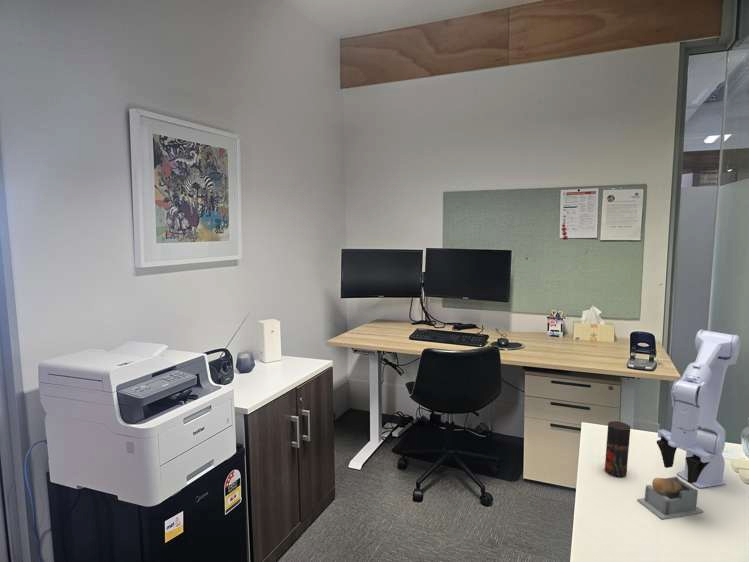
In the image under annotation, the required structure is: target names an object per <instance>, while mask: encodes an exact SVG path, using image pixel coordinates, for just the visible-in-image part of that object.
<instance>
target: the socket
mask: <svg viewBox="0 0 749 562" xmlns="http://www.w3.org/2000/svg"><path fill="white" fill-rule="evenodd" d="M664 478H665V477H664ZM665 479H676V480H678V481H679V482H680V483H681V486H682V491H680V493H679V494H671V493H658V492H656V491H655V490H654V488H653V486H652V485H651V484H646V485H645V492H644V497H643V498H637V500H636V501H637V502H638V503H639V504H641V505H642V506H644V507H645V508H646V509H647V510H648V511H650V512H651V513H652V514H654V516H656V517H658V519H660V520H669V519H675V518H678V517H680V518H681V517H685V516H691V515H698V514H703V513H704V510H703V509H702V508H700V507H698V506H697V504H698V503H697V501H698V494H699V490H698V489H696V488H694V487H692V486H690V485H689V484H688V483H686V482H684V481H683V480H681V479H680V477H677V476H672V477H666V478H665Z"/></svg>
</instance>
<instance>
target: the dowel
mask: <svg viewBox="0 0 749 562" xmlns="http://www.w3.org/2000/svg"><path fill="white" fill-rule="evenodd" d="M651 484H652V485H651V486H653V488H654V490H655V491H656V492H658V493H671V494H679V493H680V491H682V486H681V483H680V482H679V481H678V480H676V479H665V477H664V478H662V477H661V478H660V477H654V478H653V479H652V483H651Z"/></svg>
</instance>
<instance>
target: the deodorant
mask: <svg viewBox="0 0 749 562" xmlns="http://www.w3.org/2000/svg"><path fill="white" fill-rule="evenodd" d="M630 434H631V426H630V425H629V424H627V423H625V422H622V421H615V420H614V421H613V420H612V421H608V423H607V434H606V436H607V437H606V449H605V461H604V472H605V473H606V475H608V476H610V477H614V478H618V479H623V478H626V477H627V474H628V461H629V449H630V436H631V435H630Z"/></svg>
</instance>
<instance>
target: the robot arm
mask: <svg viewBox="0 0 749 562" xmlns="http://www.w3.org/2000/svg"><path fill="white" fill-rule="evenodd" d="M694 346H695V350H696V352H697V355H696V359H695V361H694V362H690V363H688V364H687V367H686V369H685V371H684V372H683V374H682V376H681V377H680V379H679V380H675V381H674V382H673V384H672V387H671V392H670V393H671V394H670V395H671V396H670V397H671V408H673V410H672V420H671V421H672V422H671V429H670V430H671V431H668V430H666V429H659V430H658V431H657V437H658V438H659V439H658V440H656V444H657V446H658V448H659V451H660V455H661V457H662V462H663V466H664V468H666V469H667V468H672V467H673V466H674V462H675V455H676V451H677V449H680V450H682V451H685V453H686V454H685V463H684V470H683V471H677V472H676V475H678V476H679V477H681V478H683V479H684V480H686V481H687V482H688V483H689V484H692V485H693V486H695V487H697V488H699V489H701V488H702V489H703V488H708V487H715V486H721V485H726V482H725V481H724V471H725V465H726V463H725V458H724V456H723V453H724V450H725V445H726V435H727V434H726V433H727V432H726V429H725V428H724V427H723V426H722V425H721V424H720V423H719V422H718V421H717V418H718V412H719V406H720V402H721V397H722V391H723V387H724V381H725V378H726V377H725V376H726V372H727V370H728V367H729V366H731V365H732V366H733V365H736V363H737V361H738V359H739V358H738V357H739V353H740V348H741V338H740V336H739V335H738V334H728V333H722V332H716V331H711V330H705V329H700V330H699V331H697V333H696V335H695V340H694ZM704 428H705V429H704ZM711 430H712V431H711Z"/></svg>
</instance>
